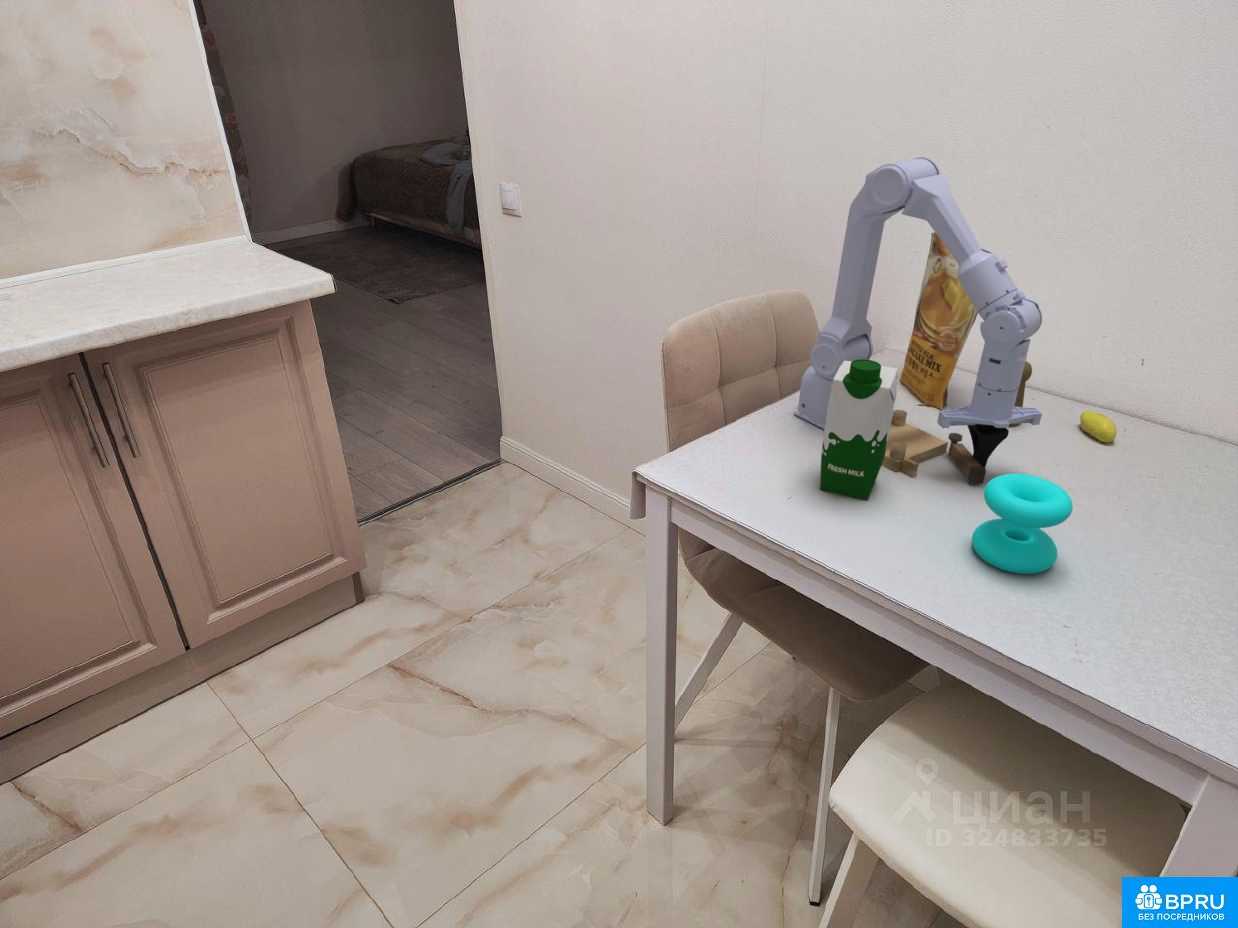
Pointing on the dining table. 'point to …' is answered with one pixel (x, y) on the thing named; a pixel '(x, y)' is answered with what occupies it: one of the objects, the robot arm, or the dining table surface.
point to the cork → (1022, 389)
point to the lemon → (1098, 426)
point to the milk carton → (857, 427)
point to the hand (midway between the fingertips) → (977, 466)
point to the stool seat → (912, 445)
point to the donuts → (1021, 523)
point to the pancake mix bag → (937, 328)
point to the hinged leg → (967, 464)
